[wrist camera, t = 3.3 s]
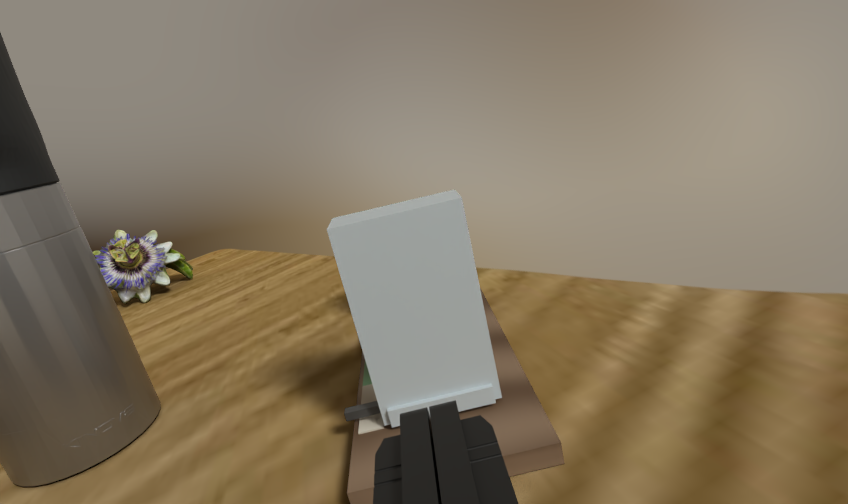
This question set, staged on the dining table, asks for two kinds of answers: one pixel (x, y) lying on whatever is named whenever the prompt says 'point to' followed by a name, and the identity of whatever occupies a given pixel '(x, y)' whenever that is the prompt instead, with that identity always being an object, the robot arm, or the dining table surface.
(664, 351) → the dining table surface
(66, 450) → the robot arm
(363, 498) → the board
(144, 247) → the passion flower
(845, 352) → the dining table surface
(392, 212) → the panel
